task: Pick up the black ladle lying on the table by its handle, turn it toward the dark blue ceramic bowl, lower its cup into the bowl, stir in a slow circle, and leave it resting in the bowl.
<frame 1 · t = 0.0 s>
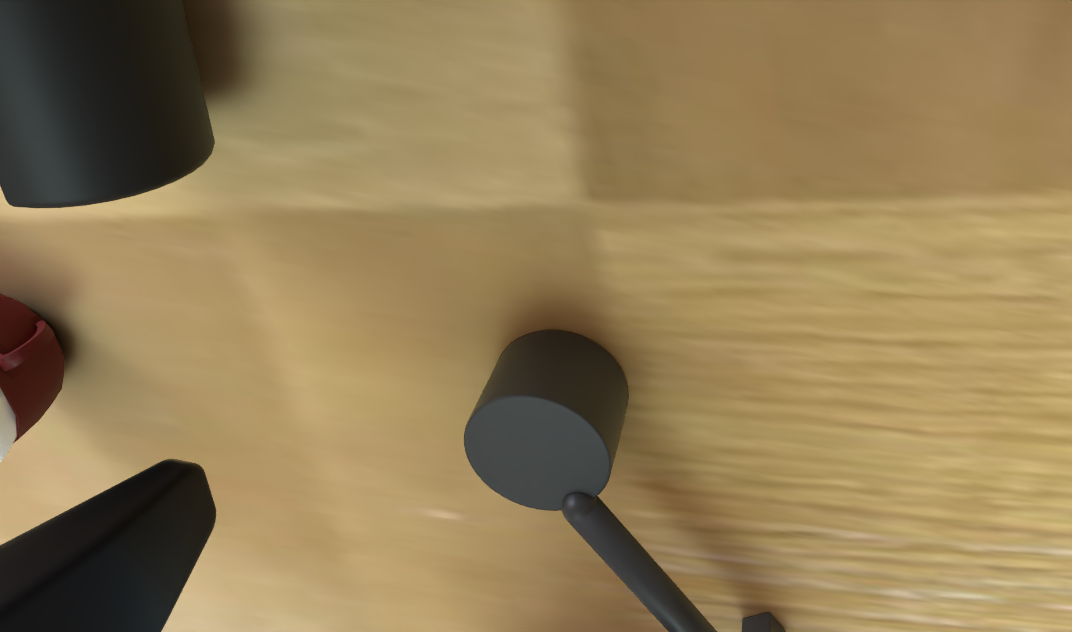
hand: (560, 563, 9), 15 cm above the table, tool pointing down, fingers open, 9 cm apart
cocoa: (16, 330, 32), on the table
ladle: (561, 386, 26), on the table
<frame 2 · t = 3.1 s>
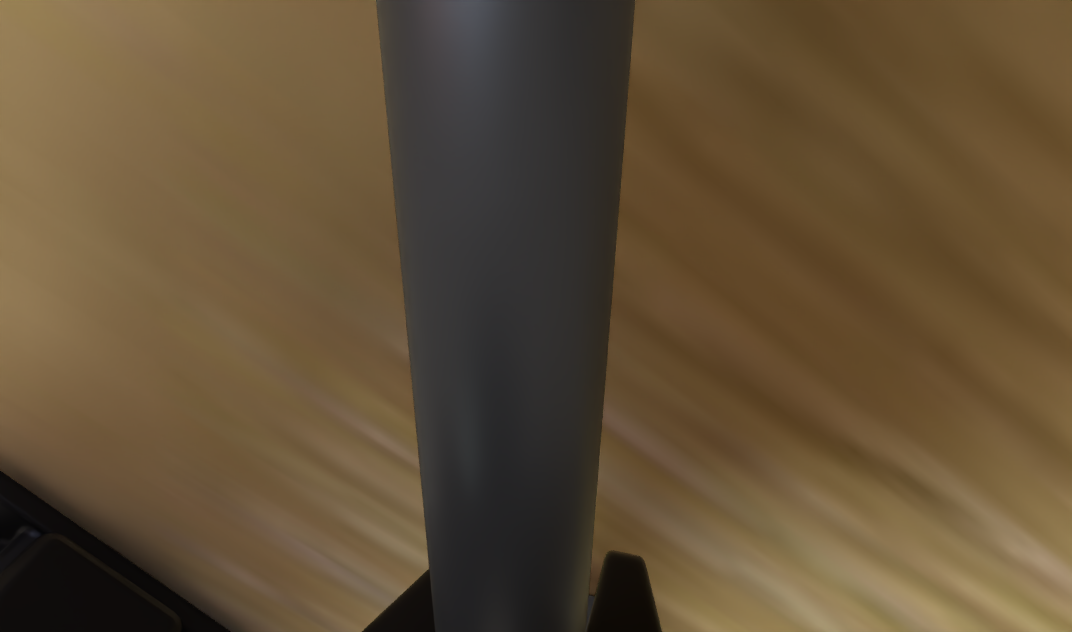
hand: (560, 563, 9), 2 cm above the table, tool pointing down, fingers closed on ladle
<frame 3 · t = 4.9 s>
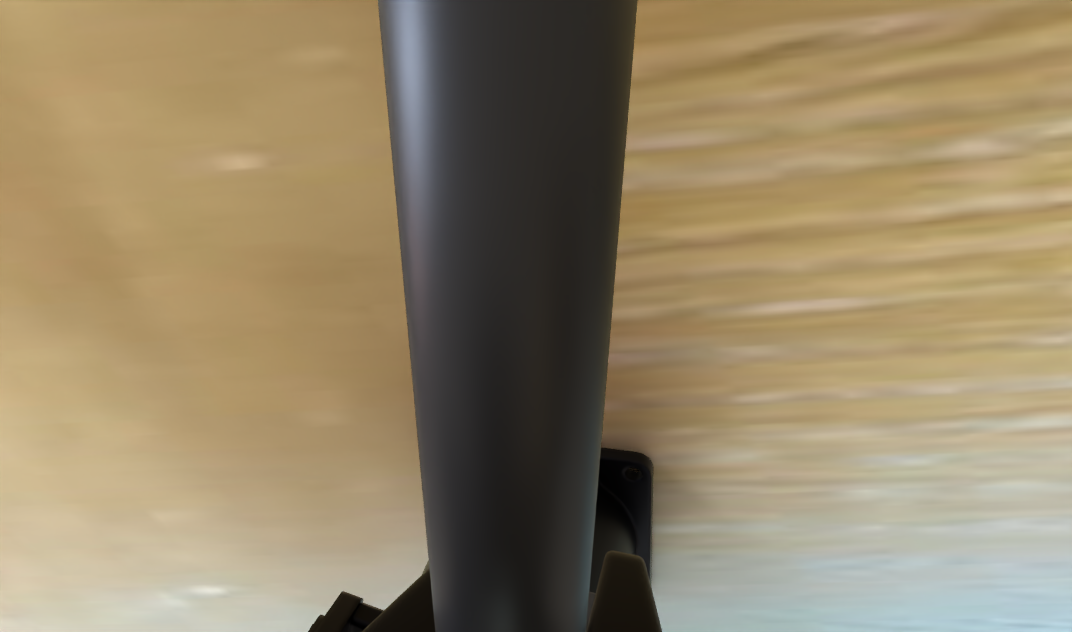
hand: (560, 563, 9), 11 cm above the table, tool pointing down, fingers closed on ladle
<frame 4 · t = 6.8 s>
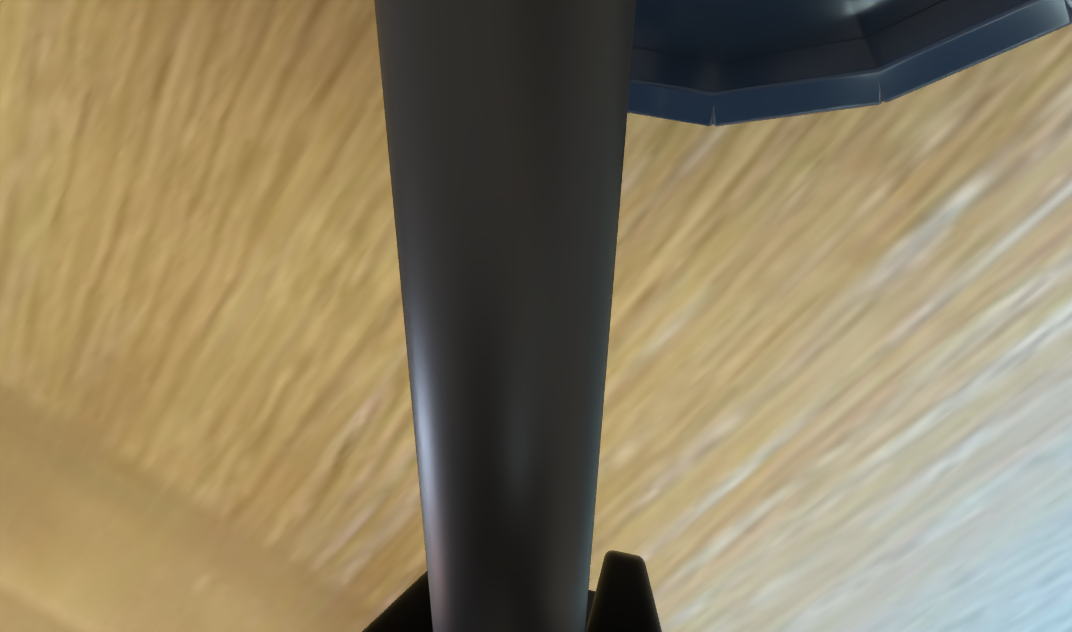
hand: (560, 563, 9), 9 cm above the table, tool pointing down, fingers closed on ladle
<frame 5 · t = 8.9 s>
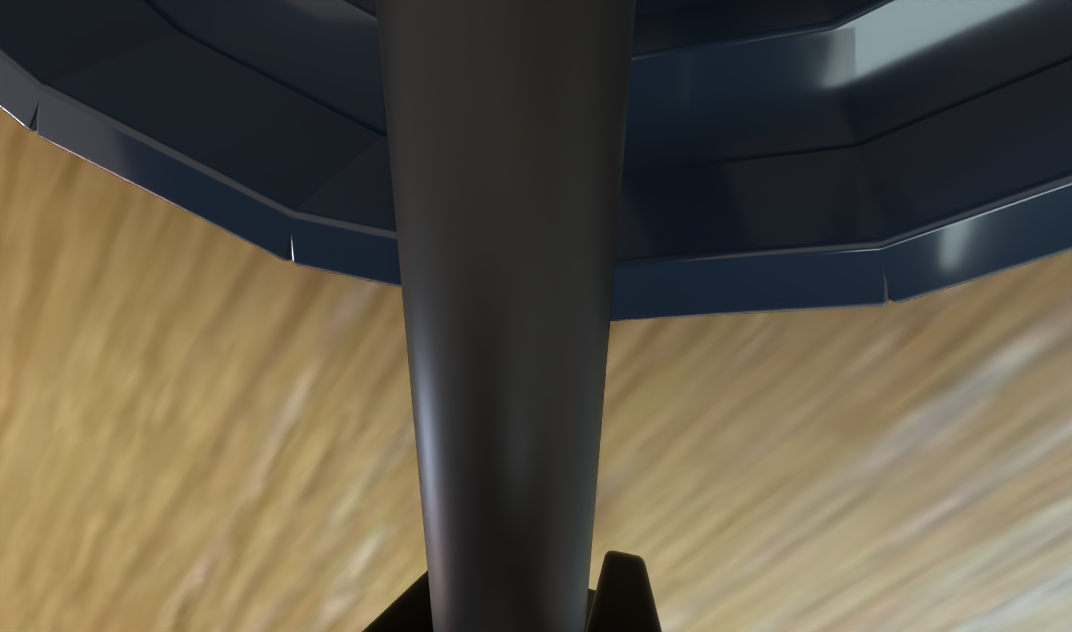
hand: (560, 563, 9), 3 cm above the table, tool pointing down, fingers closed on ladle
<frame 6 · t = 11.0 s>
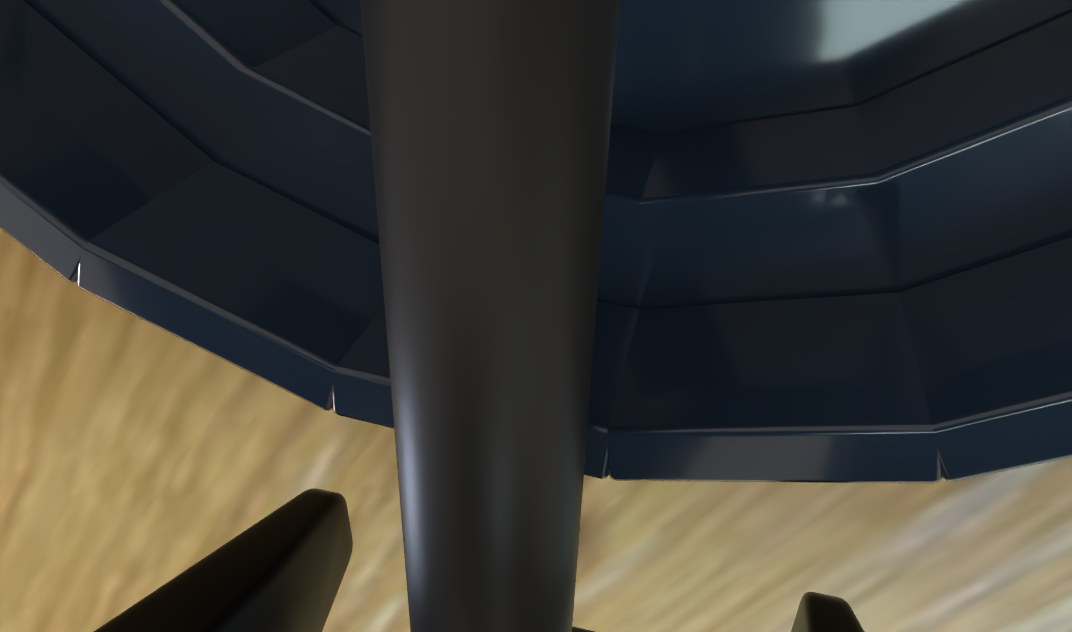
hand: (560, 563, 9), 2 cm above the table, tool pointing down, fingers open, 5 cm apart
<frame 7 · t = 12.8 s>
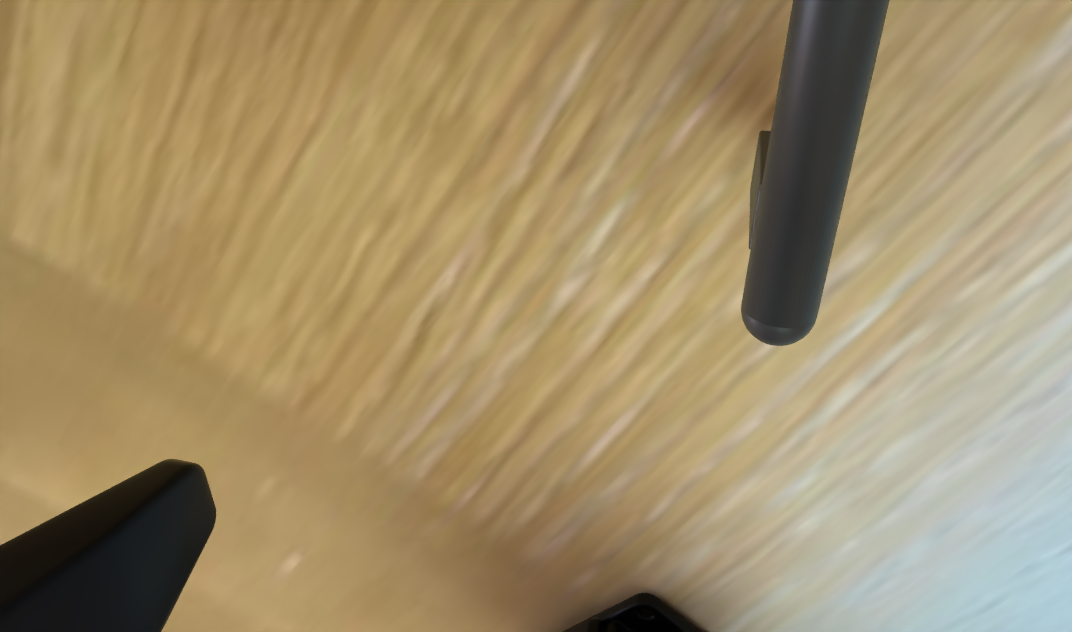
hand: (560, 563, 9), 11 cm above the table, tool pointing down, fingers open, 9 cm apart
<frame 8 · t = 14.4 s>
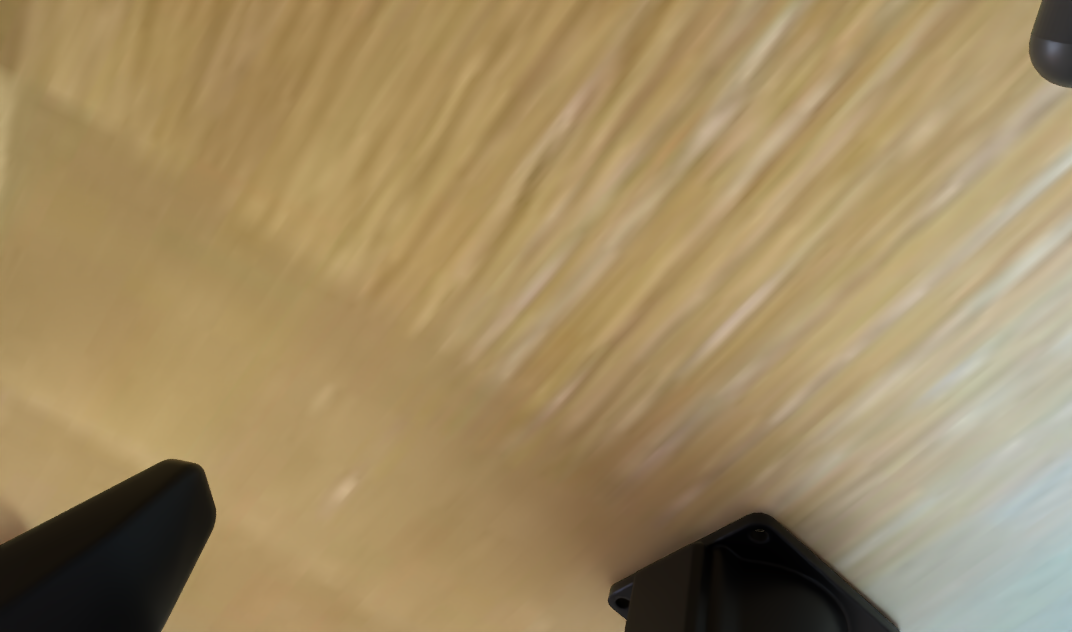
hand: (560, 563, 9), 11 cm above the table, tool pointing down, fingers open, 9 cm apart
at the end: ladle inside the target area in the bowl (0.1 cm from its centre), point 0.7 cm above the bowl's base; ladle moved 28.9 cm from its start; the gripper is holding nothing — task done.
